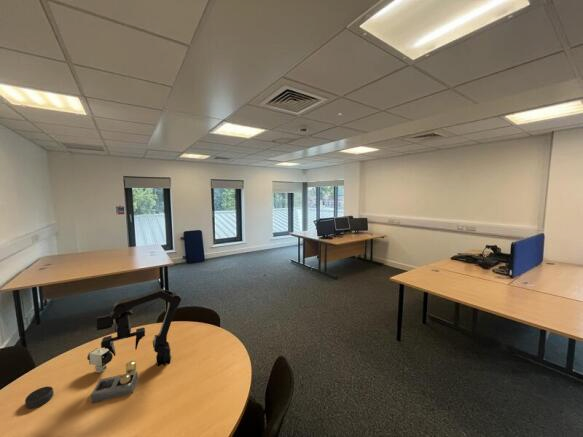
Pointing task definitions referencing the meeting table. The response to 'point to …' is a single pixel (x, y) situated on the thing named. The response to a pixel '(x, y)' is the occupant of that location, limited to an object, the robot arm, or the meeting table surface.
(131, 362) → the brass domed cylinder
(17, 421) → the meeting table surface
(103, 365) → the pneumatic valve
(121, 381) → the dull gold rounded cylinder
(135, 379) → the jig
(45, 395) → the smart speaker
